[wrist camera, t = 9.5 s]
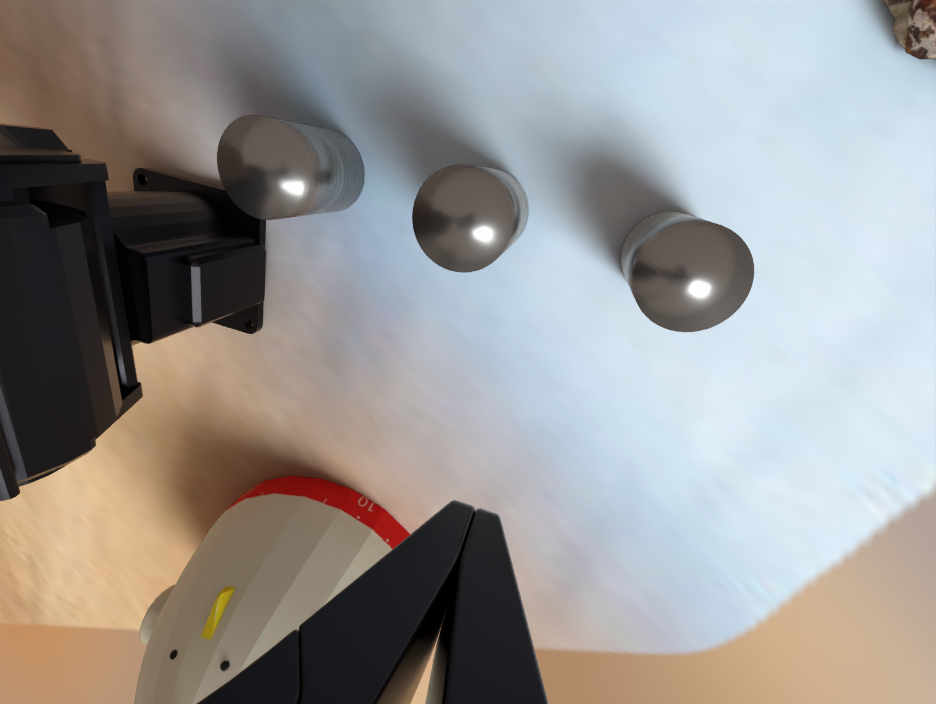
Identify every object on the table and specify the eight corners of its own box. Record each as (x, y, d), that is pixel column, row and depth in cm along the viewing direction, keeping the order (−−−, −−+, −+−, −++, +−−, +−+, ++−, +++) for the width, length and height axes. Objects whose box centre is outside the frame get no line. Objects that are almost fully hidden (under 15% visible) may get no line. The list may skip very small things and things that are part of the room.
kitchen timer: (423, 488, 24) (214, 899, 10) (443, 668, 29) (319, 1114, 15) (204, 466, 27) (-177, 756, 13) (255, 631, 32) (11, 970, 18)
